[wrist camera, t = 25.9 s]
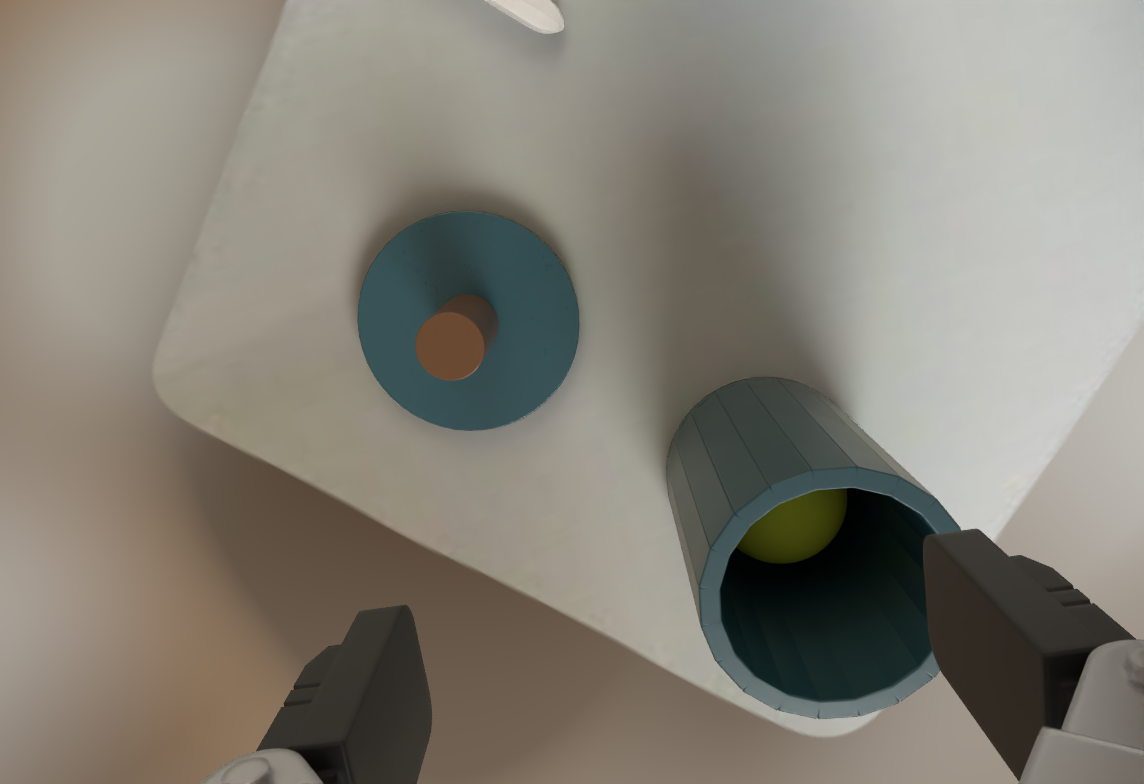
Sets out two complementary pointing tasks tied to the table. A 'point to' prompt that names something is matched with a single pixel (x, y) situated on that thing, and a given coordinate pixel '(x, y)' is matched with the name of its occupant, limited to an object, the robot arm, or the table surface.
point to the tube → (817, 584)
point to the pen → (533, 14)
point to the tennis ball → (796, 527)
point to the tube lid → (468, 320)
